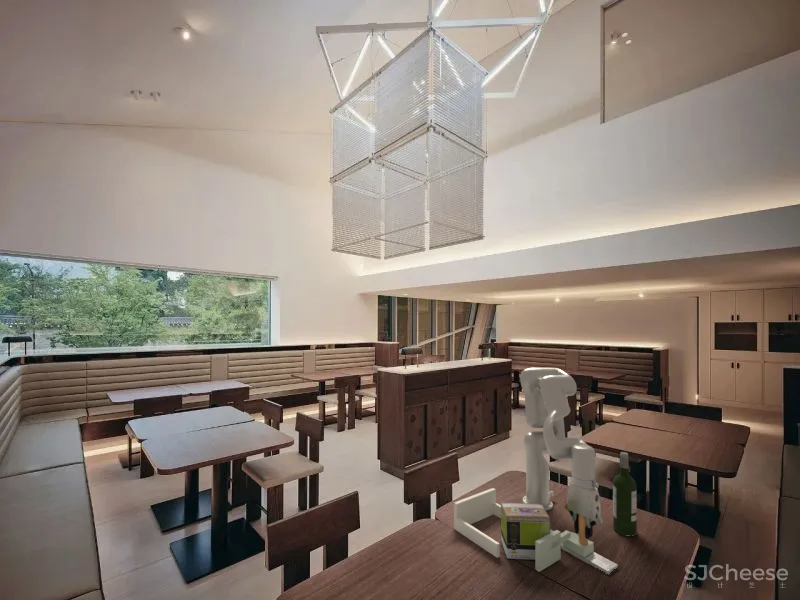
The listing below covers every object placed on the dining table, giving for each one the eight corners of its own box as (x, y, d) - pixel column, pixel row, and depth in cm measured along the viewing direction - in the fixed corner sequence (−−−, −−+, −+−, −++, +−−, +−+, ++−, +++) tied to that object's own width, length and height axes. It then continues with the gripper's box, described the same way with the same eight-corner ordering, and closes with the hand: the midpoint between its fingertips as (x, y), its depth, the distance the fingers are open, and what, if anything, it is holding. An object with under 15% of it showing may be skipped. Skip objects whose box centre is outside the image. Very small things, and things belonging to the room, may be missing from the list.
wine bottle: (640, 538, 144) (639, 457, 145) (617, 535, 145) (616, 456, 146) (632, 527, 151) (631, 450, 152) (610, 524, 153) (609, 448, 154)
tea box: (542, 544, 139) (542, 502, 140) (551, 561, 129) (551, 517, 130) (500, 542, 140) (500, 501, 141) (506, 559, 130) (506, 515, 131)
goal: (492, 512, 162) (492, 488, 162) (536, 536, 144) (536, 509, 144) (453, 528, 149) (454, 502, 149) (497, 557, 131) (497, 528, 131)
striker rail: (517, 515, 159) (517, 512, 159) (617, 568, 127) (617, 564, 127) (508, 519, 156) (508, 516, 156) (608, 575, 123) (608, 571, 123)
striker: (571, 542, 140) (571, 503, 140) (593, 553, 133) (593, 513, 134) (531, 566, 126) (531, 523, 126) (553, 580, 119) (553, 535, 120)
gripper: (612, 487, 130) (612, 542, 129) (567, 471, 143) (567, 521, 142) (601, 493, 125) (601, 550, 124) (555, 475, 138) (555, 527, 138)
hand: (583, 534), depth 133 cm, fingers closed on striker, 3 cm apart
